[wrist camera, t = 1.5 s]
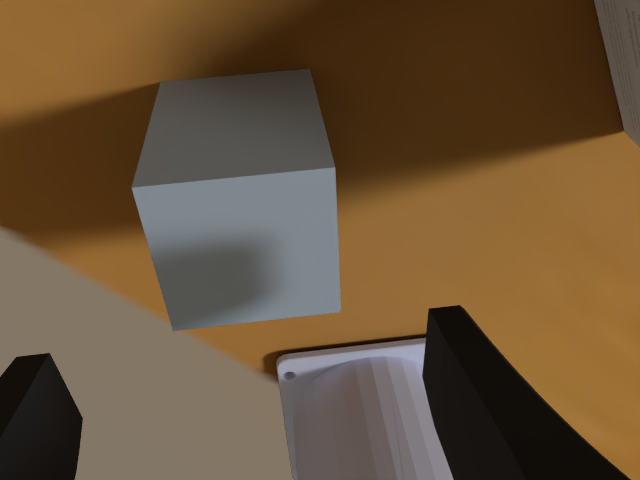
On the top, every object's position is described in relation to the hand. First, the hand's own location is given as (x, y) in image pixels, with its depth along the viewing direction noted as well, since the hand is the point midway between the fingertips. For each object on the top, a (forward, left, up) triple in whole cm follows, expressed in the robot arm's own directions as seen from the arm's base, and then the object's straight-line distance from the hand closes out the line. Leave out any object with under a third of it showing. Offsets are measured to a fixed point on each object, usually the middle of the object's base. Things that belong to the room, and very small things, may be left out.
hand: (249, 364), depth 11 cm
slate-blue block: (0, 0, -10) cm, 10 cm away
